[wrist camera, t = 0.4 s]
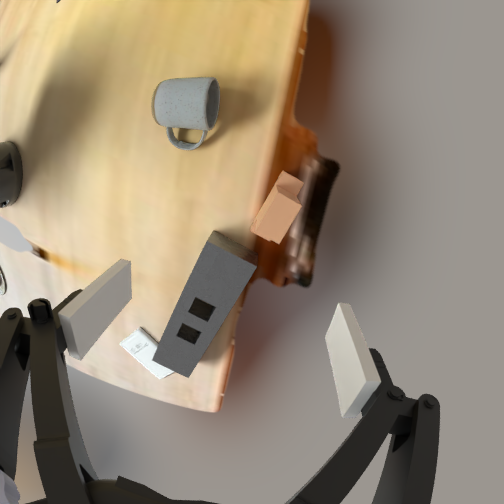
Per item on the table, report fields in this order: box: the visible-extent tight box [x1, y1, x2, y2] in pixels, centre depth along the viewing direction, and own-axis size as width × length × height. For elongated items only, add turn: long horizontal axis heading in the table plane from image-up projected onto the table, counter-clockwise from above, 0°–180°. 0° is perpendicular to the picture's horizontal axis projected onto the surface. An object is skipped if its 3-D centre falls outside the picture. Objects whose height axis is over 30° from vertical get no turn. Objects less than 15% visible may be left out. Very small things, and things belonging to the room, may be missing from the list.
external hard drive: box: [120, 327, 175, 379], centre depth 54 cm, size 2×8×12 cm
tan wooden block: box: [250, 171, 304, 244], centre depth 35 cm, size 3×9×12 cm, turn 152°
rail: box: [152, 231, 258, 378], centre depth 46 cm, size 8×28×5 cm, turn 152°
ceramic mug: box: [152, 77, 220, 150], centre depth 33 cm, size 11×8×8 cm
